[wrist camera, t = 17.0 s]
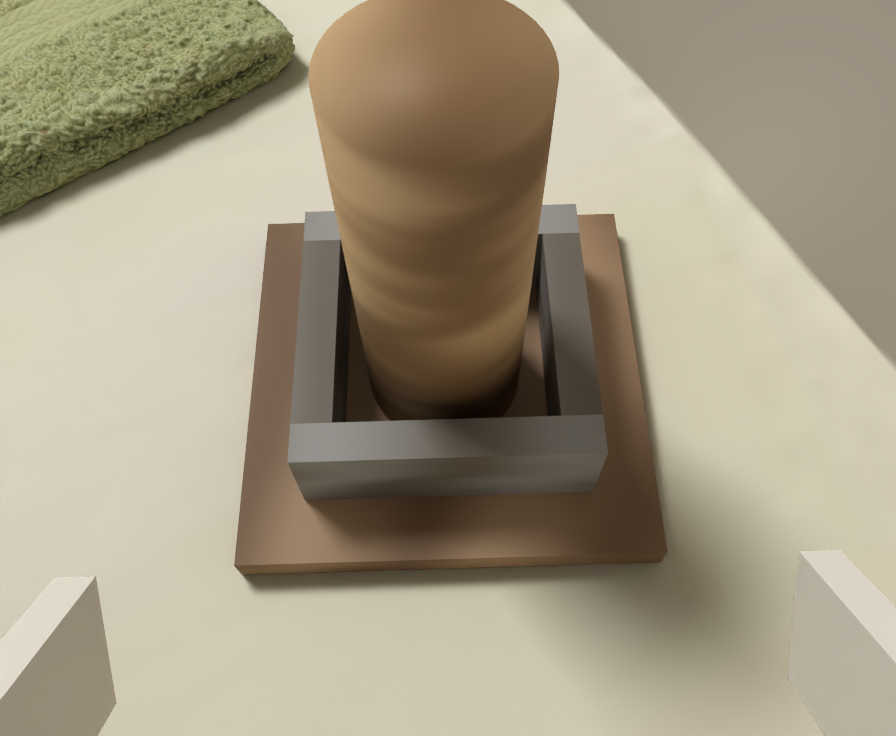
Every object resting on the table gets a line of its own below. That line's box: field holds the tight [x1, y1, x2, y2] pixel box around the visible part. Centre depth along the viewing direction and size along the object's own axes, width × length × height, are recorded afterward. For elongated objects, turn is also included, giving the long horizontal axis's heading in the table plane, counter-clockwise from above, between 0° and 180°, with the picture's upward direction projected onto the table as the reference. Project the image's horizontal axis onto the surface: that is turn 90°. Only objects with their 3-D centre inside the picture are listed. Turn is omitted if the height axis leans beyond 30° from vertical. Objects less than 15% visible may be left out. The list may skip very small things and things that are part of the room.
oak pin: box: [309, 0, 559, 421], centre depth 22 cm, size 5×5×13 cm
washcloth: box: [0, 0, 295, 217], centre depth 36 cm, size 13×18×3 cm
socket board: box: [234, 204, 667, 575], centre depth 27 cm, size 13×13×4 cm
